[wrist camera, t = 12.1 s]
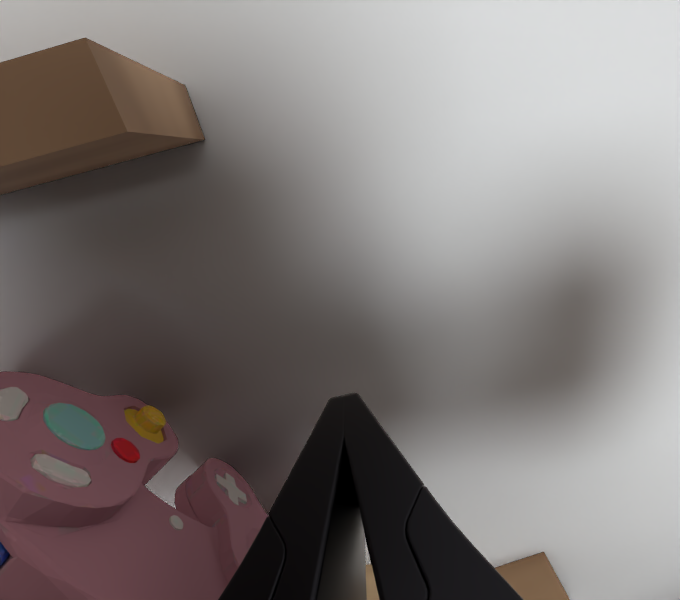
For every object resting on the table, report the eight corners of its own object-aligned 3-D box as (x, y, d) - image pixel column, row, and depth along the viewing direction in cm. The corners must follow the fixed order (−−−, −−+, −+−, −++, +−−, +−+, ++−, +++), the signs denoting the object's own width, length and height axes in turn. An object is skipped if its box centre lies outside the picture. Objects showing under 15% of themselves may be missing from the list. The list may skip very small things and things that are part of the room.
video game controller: (302, 475, 13) (397, 671, 7) (216, 574, 12) (234, 908, 6) (86, 303, 10) (-120, 375, 4) (-55, 421, 9) (-685, 811, 3)
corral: (355, 550, 13) (364, 655, 10) (52, 607, 14) (-16, 720, 11) (184, 84, 7) (84, 37, 4) (-369, 241, 7) (-783, 294, 5)
